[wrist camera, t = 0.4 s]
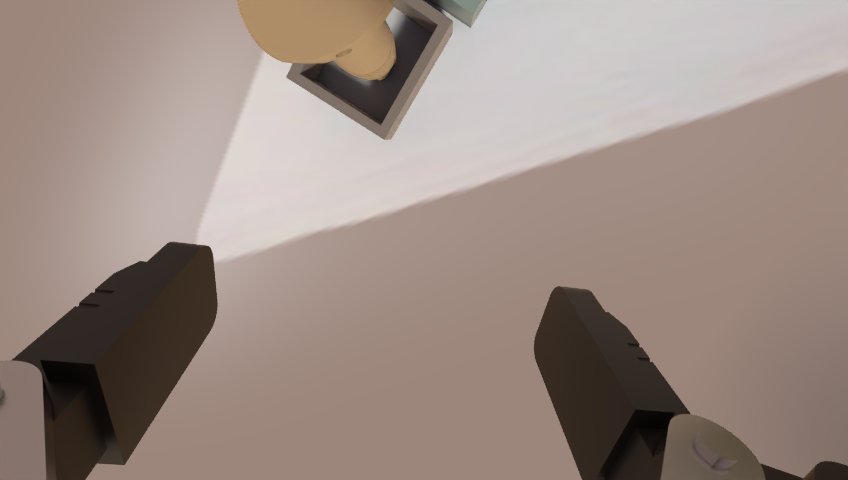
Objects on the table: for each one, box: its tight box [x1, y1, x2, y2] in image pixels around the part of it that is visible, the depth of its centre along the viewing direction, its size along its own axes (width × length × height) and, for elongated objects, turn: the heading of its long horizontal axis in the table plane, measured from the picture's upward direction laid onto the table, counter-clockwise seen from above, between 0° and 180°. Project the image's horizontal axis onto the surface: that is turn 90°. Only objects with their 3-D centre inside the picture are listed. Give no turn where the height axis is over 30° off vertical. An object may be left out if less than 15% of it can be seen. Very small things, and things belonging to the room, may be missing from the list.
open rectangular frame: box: [287, 0, 453, 140], centre depth 29 cm, size 9×8×4 cm
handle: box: [237, 0, 397, 80], centre depth 24 cm, size 5×6×15 cm
